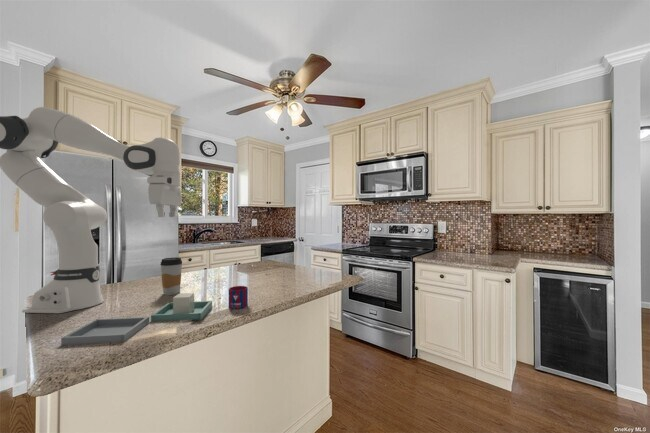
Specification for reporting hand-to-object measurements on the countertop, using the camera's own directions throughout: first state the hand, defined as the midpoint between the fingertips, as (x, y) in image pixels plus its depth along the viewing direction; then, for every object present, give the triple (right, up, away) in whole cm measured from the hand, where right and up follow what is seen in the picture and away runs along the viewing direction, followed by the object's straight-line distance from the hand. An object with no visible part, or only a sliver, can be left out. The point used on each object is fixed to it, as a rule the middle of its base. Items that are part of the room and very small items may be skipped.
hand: (167, 217), depth 107 cm
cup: (+29, -33, -2) cm, 44 cm away
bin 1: (0, -33, -28) cm, 43 cm away
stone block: (+13, -33, -12) cm, 37 cm away
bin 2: (+13, -33, -12) cm, 38 cm away
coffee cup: (-6, -33, +14) cm, 36 cm away
